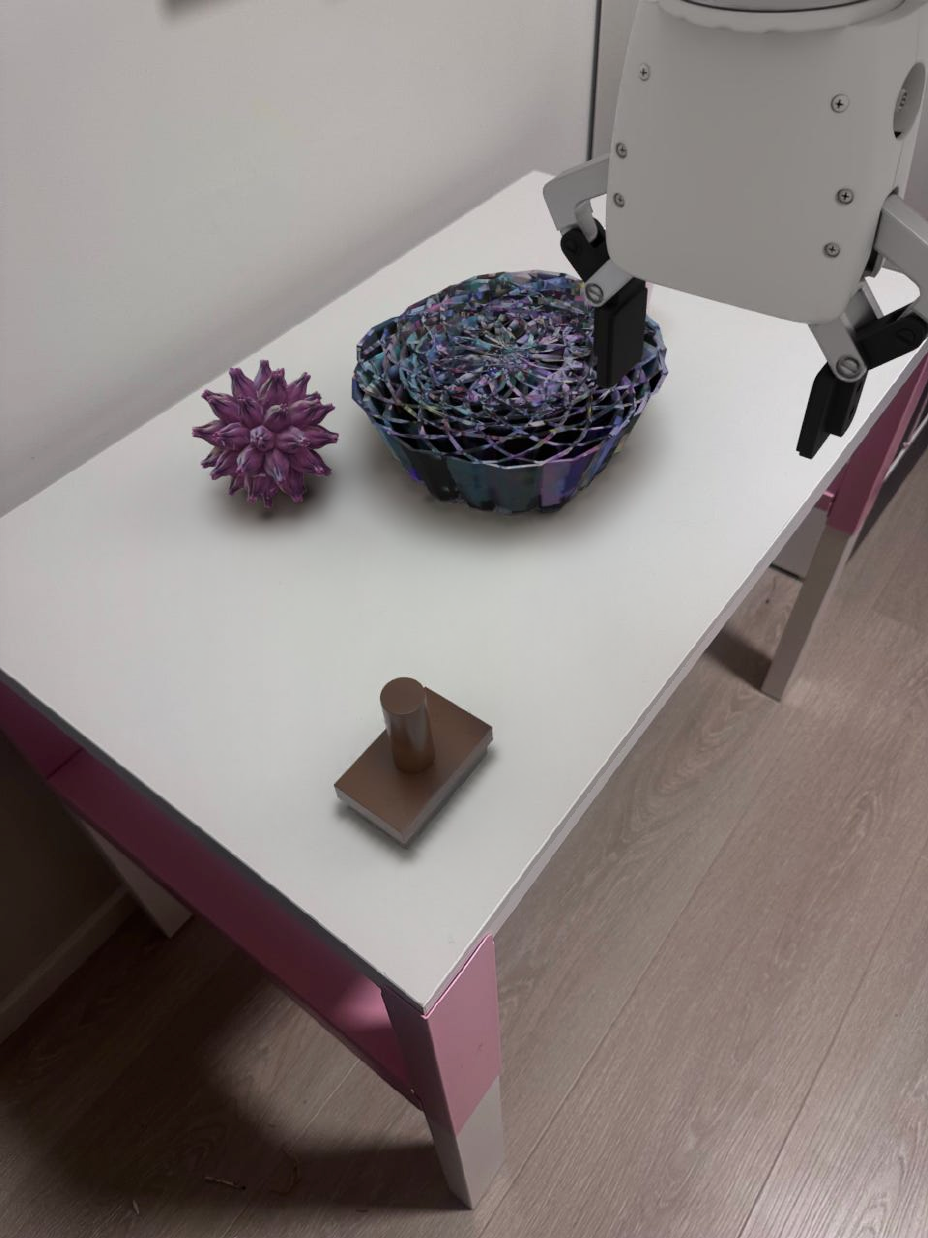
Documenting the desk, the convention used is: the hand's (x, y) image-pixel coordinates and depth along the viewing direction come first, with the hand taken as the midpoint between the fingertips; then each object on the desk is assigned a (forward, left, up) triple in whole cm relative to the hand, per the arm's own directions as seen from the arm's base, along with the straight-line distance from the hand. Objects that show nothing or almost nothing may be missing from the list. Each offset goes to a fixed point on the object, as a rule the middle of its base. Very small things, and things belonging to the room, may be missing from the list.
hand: (713, 404), depth 40 cm
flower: (+29, -25, -26) cm, 46 cm away
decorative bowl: (+9, -31, -26) cm, 41 cm away
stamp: (+16, +4, -25) cm, 30 cm away
